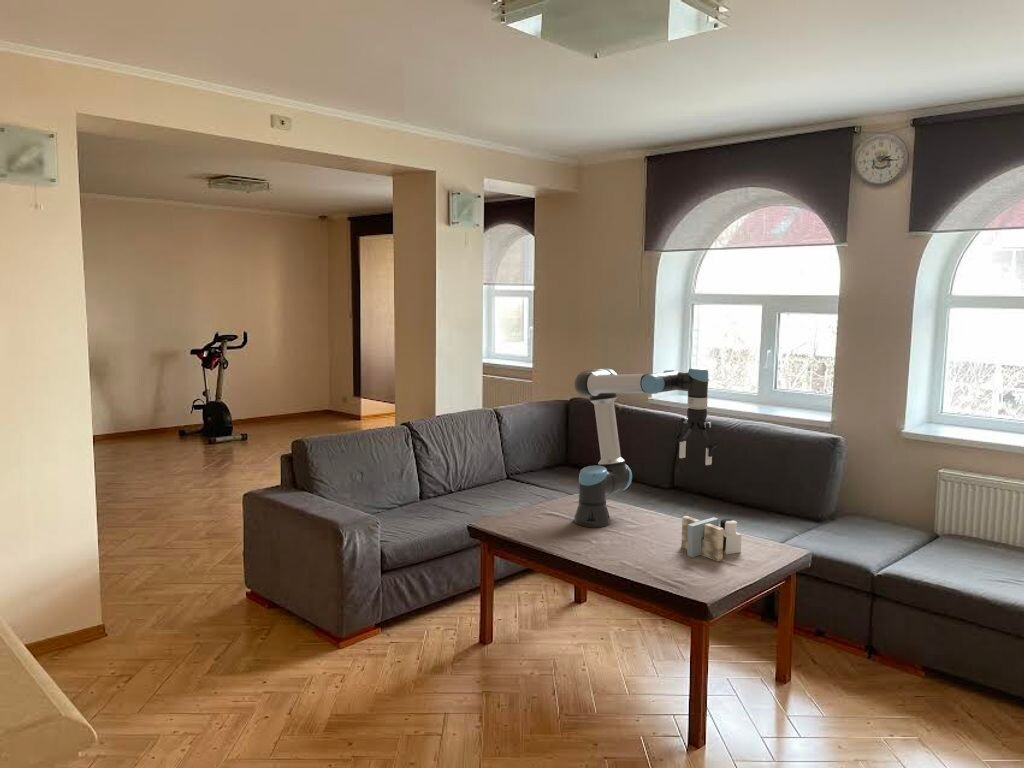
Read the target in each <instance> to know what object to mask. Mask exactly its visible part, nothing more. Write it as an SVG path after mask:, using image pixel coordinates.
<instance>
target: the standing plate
mask: <svg viewBox="0 0 1024 768" xmlns="http://www.w3.org/2000/svg"><path fill="white" fill-rule="evenodd" d="M681 519H682V521H681V544H680V545H681V546H680V547H681V548H682V549H686V550H687V541H688V524H692V523H695V522H699V521H701V520H700V519H697V518H695V517H691V516H688V515H685V516H682V518H681ZM723 531H724V528H721V527H720V526H719V525H718V526H715V525H712V524H705V532H704V537H703V538H701V555H700V556H703V557H706V558H709V559H711V560H713V561H715V562H720V561H723V554H724V553H723Z"/></svg>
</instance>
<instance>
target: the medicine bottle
mask: <svg viewBox="0 0 1024 768" xmlns="http://www.w3.org/2000/svg"><path fill="white" fill-rule="evenodd" d="M719 522H720V523H719V524H720V525H719V527H721V528H724V531H723V553H722V554H724V555H731V554H732V555H733V554H738V553H741V552H742V534H741V533H739V532H737V531H738V522H737V521H736V520H735V519H734V518H733V519H732V518H722V519H721V520H720V521H719Z"/></svg>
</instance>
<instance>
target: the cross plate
mask: <svg viewBox="0 0 1024 768" xmlns="http://www.w3.org/2000/svg"><path fill="white" fill-rule="evenodd" d="M719 520H720V519H719V518H717V517H710V518H706V519H703V520H700V521H699V522H695V523H692V524H688V541H687V549H686V550H687V552H686V553H687V554H686V556H688V557H690V558H695V557H698V556H702V555H701V538H703V537H704V532H705V524H712V525H715V526H718V527H719V522H720V521H719Z"/></svg>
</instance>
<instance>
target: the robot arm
mask: <svg viewBox="0 0 1024 768" xmlns="http://www.w3.org/2000/svg"><path fill="white" fill-rule="evenodd" d="M709 381H710V380H709V370H708V369H707V368H705V367H689V369H688V371H682V370H681V371H679V370H673V369H671V370H667V369H666V370H663V372H658V373H629V374H628V373H627V374H624V373H623V374H617V371H616V372H615V370H614V369H611V368H595V369H588V370H583V371H581V372H579V373H578V374H577V375H576V376H575V378H574V381H573V386H574V390H575V392H576V393H577V394H578V395H579V396H580V397H583V398H589V401H590V403H592V404H593V405H594V406H593V407H594V412H595V421H596V430H597V438H598V444H599V445H598V446H599V452H600V454H599V455H600V460H599V461H598V462H597V464H598V465H589V466H584V467H583V468H582V469H580V471H579V477H578V505H577V508H576V512H575V514H574V517H573V522H574V524H576V525H578V526H580V527H586V528H603V527H607V526H609V525H610V524H611V516H610V513H609V510H608V506H607V496H608V495H612V494H615V493H621V492H623V491H624V490H625V491H626V490H627V489H628V488H629V486H631V484H632V480H633V474H632V470H631V468H630V467H629V465H627V464H626V460H625V459H624V458H623V457H622V455H621V448H620V439H619V433H618V425H617V417H616V416H617V415H616V407H615V401H616V400H617V398H618V396H617V394H644V393H645V394H649V395H654V394H655V395H656V394H659V393H660V394H661V393H664V392H665V393H667V392H672V391H683V392H687V405H686V406H687V408H686V409H687V410H686V417H684V416H683V417H681V421H680V424H679V426H678V429H677V431H676V433H675V435H674V440H677V441H678V450H679V455H678V458H679V459H684V458H686V454H687V453H686V451H687V448H686V447H687V441H686V440H687V438H688V436H689V435H690V434H691V433H692V432H697V433H698V434H700V435H701V437H702V439H703V442H704V443H705V445H706V446H707V447H706V448H705V463H704V464H705V466H709V465H710V466H711V465H712V464H713V463H712V462H713V459H712V458H713V457H714V451H715V450H714V449H715V448H718V447H719V444H718V441H717V438H716V434H715V431H714V428H713V422H712V421H708V422H706V419H707V417H708V409H707V407H708V400H709V399H708V393H709V391H708V389H709V388H708V387H709Z"/></svg>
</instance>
